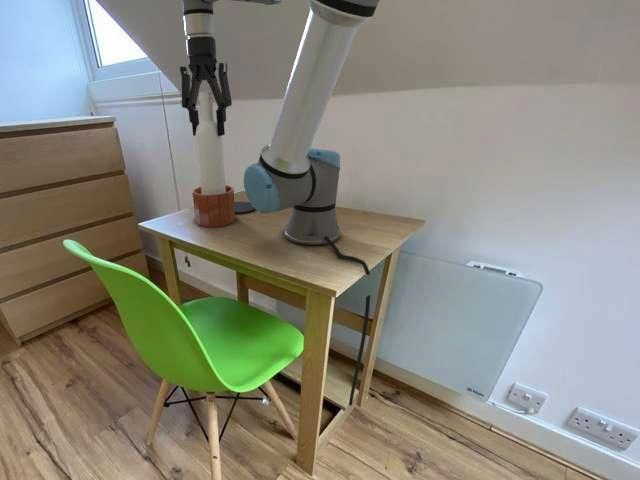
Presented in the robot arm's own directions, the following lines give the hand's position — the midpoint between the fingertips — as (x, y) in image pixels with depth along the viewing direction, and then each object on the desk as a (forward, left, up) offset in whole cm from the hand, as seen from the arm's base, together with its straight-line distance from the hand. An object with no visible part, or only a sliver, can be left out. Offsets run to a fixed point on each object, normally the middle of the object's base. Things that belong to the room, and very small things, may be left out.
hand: (208, 135), depth 99 cm
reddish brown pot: (0, 0, -26) cm, 26 cm away
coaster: (+6, -13, -26) cm, 29 cm away
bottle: (0, 0, -19) cm, 19 cm away
